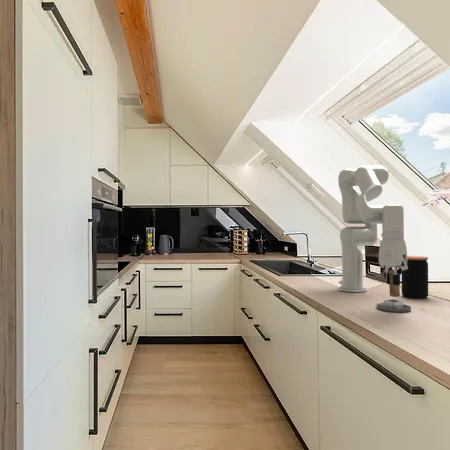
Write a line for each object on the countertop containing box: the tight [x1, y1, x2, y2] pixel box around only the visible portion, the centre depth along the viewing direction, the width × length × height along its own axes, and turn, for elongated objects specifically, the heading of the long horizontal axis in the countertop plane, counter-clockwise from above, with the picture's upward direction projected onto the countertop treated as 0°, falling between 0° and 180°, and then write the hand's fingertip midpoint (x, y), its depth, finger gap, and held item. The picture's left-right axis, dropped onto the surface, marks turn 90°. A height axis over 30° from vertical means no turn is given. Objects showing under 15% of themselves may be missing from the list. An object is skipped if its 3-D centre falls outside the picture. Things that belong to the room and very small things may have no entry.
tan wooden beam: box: [388, 269, 401, 298], centre depth 140 cm, size 2×2×10 cm
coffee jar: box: [401, 255, 429, 300], centre depth 164 cm, size 11×11×18 cm
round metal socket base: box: [376, 298, 412, 314], centre depth 140 cm, size 12×12×3 cm
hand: (393, 284), depth 140 cm, fingers closed on tan wooden beam, 2 cm apart
